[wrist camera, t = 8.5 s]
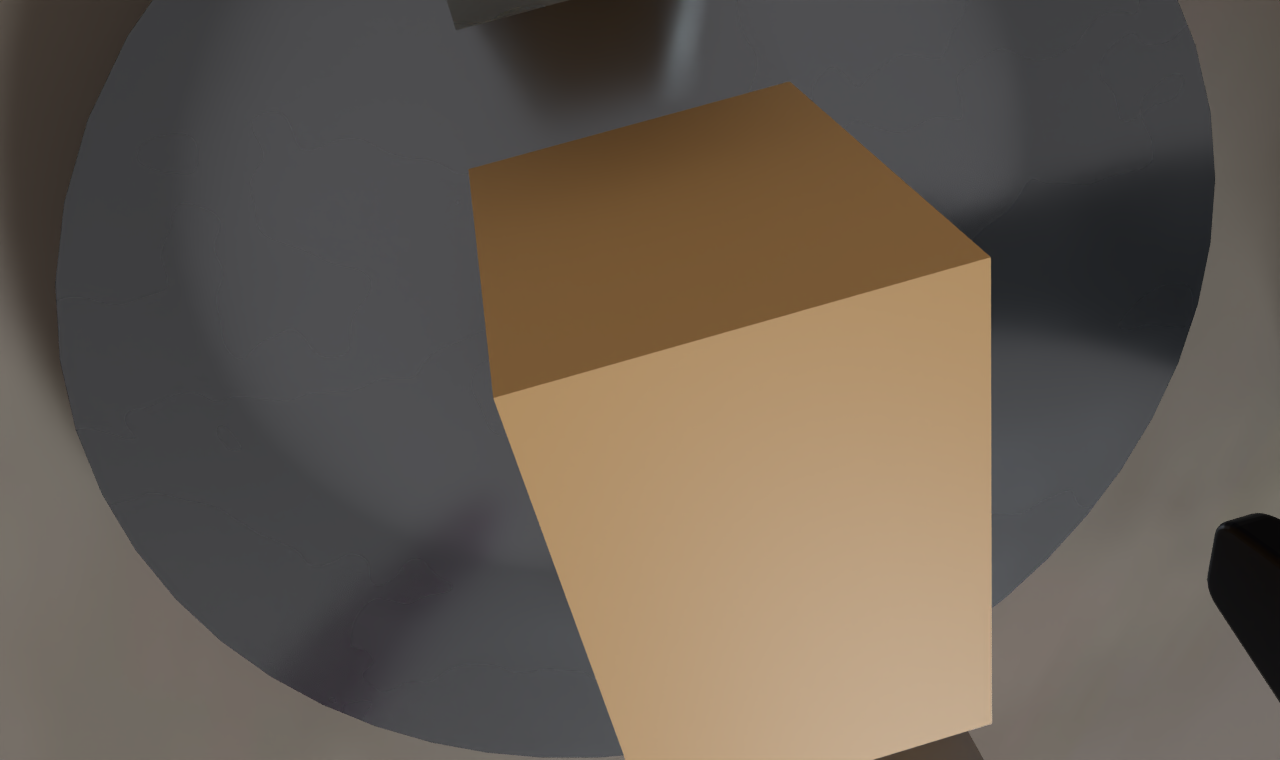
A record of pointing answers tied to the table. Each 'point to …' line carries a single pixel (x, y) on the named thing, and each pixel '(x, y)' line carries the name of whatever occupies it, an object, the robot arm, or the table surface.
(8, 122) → the table surface
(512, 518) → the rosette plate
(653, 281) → the tan and grey block
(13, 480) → the table surface
